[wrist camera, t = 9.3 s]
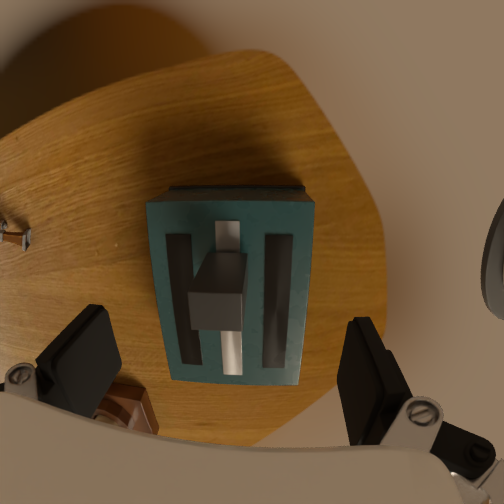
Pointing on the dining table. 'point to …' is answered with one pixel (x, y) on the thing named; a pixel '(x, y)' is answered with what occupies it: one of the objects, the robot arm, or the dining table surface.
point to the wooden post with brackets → (15, 236)
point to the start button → (106, 420)
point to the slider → (219, 293)
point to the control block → (128, 408)
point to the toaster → (259, 278)
